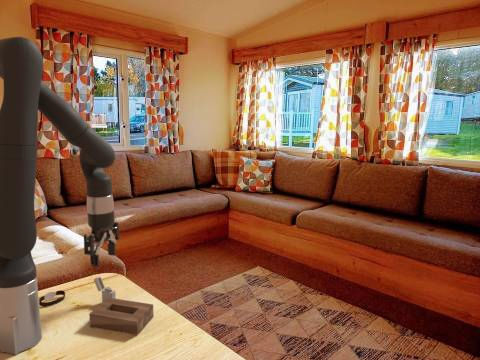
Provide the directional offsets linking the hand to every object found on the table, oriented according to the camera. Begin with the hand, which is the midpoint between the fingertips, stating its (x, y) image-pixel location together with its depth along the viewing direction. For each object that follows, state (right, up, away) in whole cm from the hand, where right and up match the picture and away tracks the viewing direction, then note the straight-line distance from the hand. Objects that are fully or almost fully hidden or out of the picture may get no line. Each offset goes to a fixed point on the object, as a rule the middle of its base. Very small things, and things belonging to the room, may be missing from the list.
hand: (103, 260), depth 109 cm
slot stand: (+8, -16, -8) cm, 20 cm away
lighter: (0, -14, +2) cm, 14 cm away
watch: (-17, -14, +2) cm, 22 cm away
